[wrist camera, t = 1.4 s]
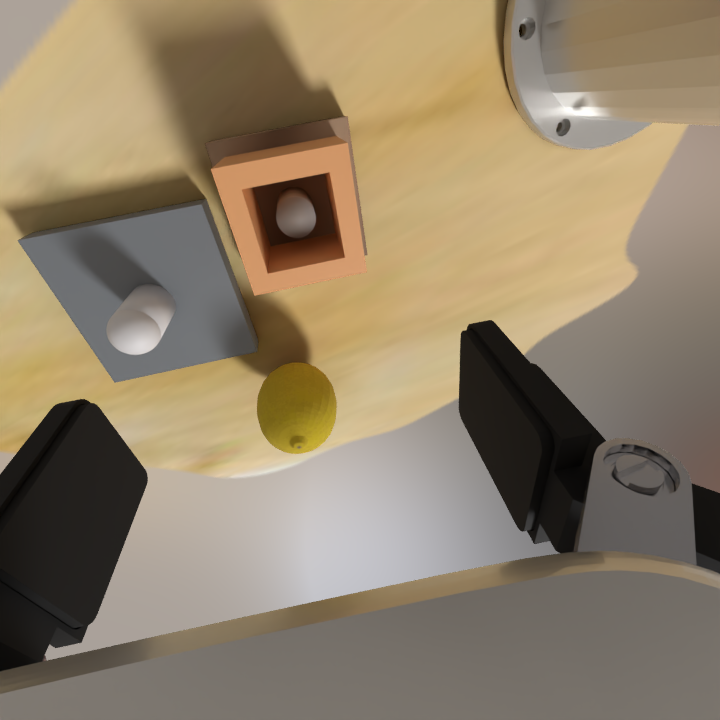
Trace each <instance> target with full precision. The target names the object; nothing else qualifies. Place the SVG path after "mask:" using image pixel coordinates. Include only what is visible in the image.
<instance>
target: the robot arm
mask: <svg viewBox="0 0 720 720" xmlns="http://www.w3.org/2000/svg"><path fill="white" fill-rule="evenodd" d="M520 26H521V27H522V34H521V36H519V27H520ZM503 43H504V62H505V72H506V76H507V81H508V86H509V90H510V94H511V96H512V98H513V101H514V103H515V106H516V108H517V110H518V113H519V114H520V115H521V117H522V118H523V119H524V121H525V122H526V124H527V125H528V126H529V128H530V129H531V130H533V131H534V132H535V133H536V134H537V135H539V136H540V137H541V138H542V139H544V140H546V141H548V142H550V143H553V144H555V145H557V146H561V147H567V148H572V149H589V150H592V149H597V148H602V147H607V146H611V145H614V144H616V143H619V142H621V141H623V140H626V139H628V138H630V137H632V136H633V135H635V134H637V133H638V132H640V131H642V130H643V129H645V128H646V127H648V126H649V125H651V124H652V123H671V124H692V125H713V126H720V0H508V5H507V9H506V18H505V29H504V41H503ZM557 125H558V127H557ZM556 128H557V129H556ZM459 412H460V416H461V419H462V421H463V423H464V425H465V427H466V429H467V431H468V433H469V435H470V437H471V438H472V441H473V442H474V444H475V446H476V448H477V450H478V452H479V454H480V456H481V458H482V460H483V462H484V464H485V466H486V467H487V469H488V471H489V473H490V475H491V477H492V479H493V481H494V483H495V485H496V487H497V489H498V491H499V493H500V494H501V496H502V498H503V500H504V502H505V504H506V506H507V508H508V510H509V512H510V514H511V516H512V518H513V520H514V522H515V523H516V525H517V527H518V528H519V530H520V531H527V532H528V533H529V535H530V537H531V538H532V541H533V543H534V544H537V543H542V542H547V541H551V543H552V545H553V547H554V548H555V550H556V551H557V552H559V553H560V554H553V555H546V556H540V557H532V558H525V559H520V560H515V561H510V562H504V563H499V564H494V565H489V566H484V567H479V568H474V569H468V570H463V571H459V572H453V573H448V574H443V575H438V576H433V577H429V578H424V579H419V580H415V581H410V582H405V583H401V584H396V585H391V586H386V587H382V588H377V589H372V590H368V591H363V592H358V593H353V594H349V595H344V596H340V597H335V598H330V599H325V600H321V601H316V602H311V603H307V604H302V605H298V606H293V607H288V608H284V609H279V610H275V611H270V612H266V613H261V614H257V615H251V616H247V617H242V618H238V619H233V620H229V621H224V622H219V623H215V624H210V625H206V626H201V627H196V628H192V629H188V630H183V631H178V632H174V633H169V634H165V635H160V636H155V637H151V638H146V639H142V640H138V641H133V642H129V643H124V644H120V645H115V646H111V647H106V648H102V649H97V650H93V651H88V652H84V653H80V654H75V655H70V656H66V657H62V658H57V659H53V660H48V661H47V660H46V657H45V652H46V650H47V648H48V646H49V644H50V645H52V646H53V647H55V648H58V647H63V646H68V645H72V644H76V643H81V642H82V640H83V637H84V635H85V632H86V630H87V627H88V625H89V624H91V623H92V622H93V621H94V619H95V618H96V616H97V614H98V611H99V608H100V606H101V603H102V600H103V598H104V595H105V592H106V590H107V587H108V585H109V582H110V580H111V577H112V574H113V572H114V569H115V566H116V564H117V561H118V559H119V556H120V553H121V551H122V548H123V546H124V543H125V540H126V538H127V535H128V532H129V530H130V527H131V524H132V522H133V519H134V517H135V514H136V511H137V509H138V506H139V504H140V501H141V498H142V496H143V493H144V491H145V488H146V485H147V481H148V480H147V479H148V477H147V473H146V470H145V469H144V467H143V466H142V465H141V463H140V462H139V461H138V459H137V458H136V457H135V455H134V454H133V453H132V451H131V450H130V449H129V447H128V446H127V444H126V443H125V442H124V440H123V439H122V438H121V436H120V435H119V434H118V432H117V431H116V430H115V428H114V427H113V426H112V424H111V423H110V422H109V420H108V419H107V418H106V416H105V415H104V413H103V412H102V411H101V409H100V408H99V407H98V406H97V405H96V404H94V403H90V402H89V401H87V400H85V399H80V400H75V401H69V402H64V403H59V404H57V405H55V406H54V407H53V408H52V409H51V410H50V411H49V413H48V414H47V415H46V417H45V418H44V419H43V420H42V422H41V423H40V424H39V425H38V427H37V428H36V429H35V431H34V432H33V433H32V434H31V436H30V437H29V438H28V440H27V441H26V442H25V443H24V445H23V446H22V447H21V448H20V450H19V451H18V452H17V454H16V455H15V456H14V457H13V459H12V460H11V461H10V463H9V464H8V465H7V466H6V468H5V469H4V470H3V472H2V473H1V474H0V720H720V493H718V492H715V491H712V490H709V489H706V488H703V487H700V486H697V485H695V484H692V483H691V480H690V476H689V473H688V472H687V470H686V469H685V468H684V466H683V465H682V464H681V462H679V461H678V460H677V459H676V458H675V457H674V456H672V455H671V454H670V453H668V452H666V451H665V450H663V449H661V448H659V447H658V446H656V445H653V444H650V443H647V442H645V441H642V440H635V439H630V438H615V439H612V440H608V441H606V440H605V439H604V438H603V437H602V436H601V434H600V433H599V432H598V431H597V430H596V429H595V428H594V427H593V426H592V425H591V423H590V422H589V421H588V420H587V419H586V418H585V417H584V416H583V415H582V414H581V412H580V411H579V410H578V409H577V408H576V407H575V406H574V405H573V404H572V402H571V401H569V399H568V398H567V397H566V396H565V395H564V394H563V393H562V392H561V390H560V389H559V388H558V387H557V386H556V385H555V384H554V383H553V382H552V381H551V379H550V378H549V377H548V376H547V375H546V374H545V373H544V372H543V371H542V370H541V368H539V367H538V366H537V365H536V364H532V363H530V362H529V361H528V360H527V359H526V358H525V357H524V355H523V354H522V353H521V352H520V351H519V350H518V349H517V347H516V346H515V345H514V344H513V343H512V342H511V341H510V340H509V338H508V337H507V336H506V335H505V334H504V333H503V332H502V331H501V329H500V328H499V327H498V326H497V325H496V324H495V323H494V322H493V321H492V320H488V321H483V322H478V323H473V324H469V325H468V327H467V330H466V331H462V333H461V345H460V382H459Z"/></svg>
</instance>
